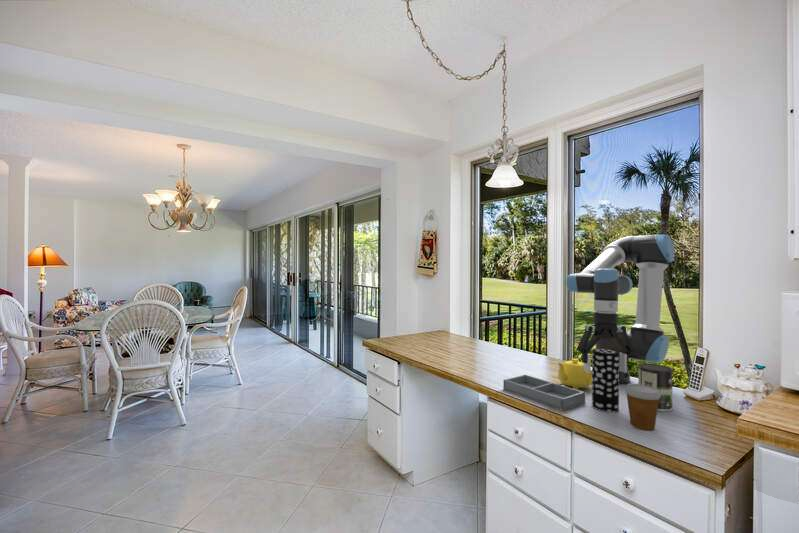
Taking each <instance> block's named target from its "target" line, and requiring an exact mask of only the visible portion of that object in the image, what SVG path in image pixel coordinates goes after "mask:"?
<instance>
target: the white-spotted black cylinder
mask: <svg viewBox="0 0 799 533" xmlns="http://www.w3.org/2000/svg"><path fill="white" fill-rule="evenodd" d="M591 350H592V353H591V354H592V357H591V358H592V360H591V361H592V363H591V366H592V368H591V371H592V385H591V389H592V390H591V406H592V407H593V408H594V407H595V408H594V409H596V408H597V409H596V410H599V409H600V410H599V411H602V410H603V412H608V411H610V412H611V413H612V412H613V411H615V412H618V411H619V408H620V407H619V406H620V400H619V399H620V397H619V396H620V383H619V352H618V351H615V350H610V349H596V348H592V349H591Z"/></svg>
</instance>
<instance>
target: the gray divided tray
mask: <svg viewBox="0 0 799 533" xmlns="http://www.w3.org/2000/svg"><path fill="white" fill-rule="evenodd" d="M503 391H506V392H509V393H511V394H515V395H517V396H519V397H523V398H526V399H527V400H532V401H535V402H537V403H540V404H543V405H546V406H549V407H551V408H554V409H557V408H558V409H557V410H559V409H561V410H560V411H562V410H564V411H567V410H570V409H572V407H573V408H575V407H578V406H581V405H583V404H586V392H585V391H582V390H576V389H573V387H572V388H571V387H570V386H562V384H558V383H555V382H552V381H548V380H545V379H541V378H537V377H534V376H532V375H528V374H522V375H518V376H514V377H511V378H510V377H508V378H505V379H503ZM569 408H570V409H569ZM566 409H567V410H566Z"/></svg>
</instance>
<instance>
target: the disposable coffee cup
mask: <svg viewBox="0 0 799 533" xmlns="http://www.w3.org/2000/svg"><path fill="white" fill-rule="evenodd" d="M624 391H625V393H626V399H627V406H628V414H629V421H630V422H629V423H630V426H632V427H633V428H635V429H637V430H642V431H654V430H655V426H656V421H657V415H658V411H657V409H658V403H659V399H660V397H661V394H660V392H659V390H658V389H656V388H654V387H651V386H647V385H641V384H639V383H629V384H627V385H626V387H625V388H624Z"/></svg>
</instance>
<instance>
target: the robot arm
mask: <svg viewBox="0 0 799 533" xmlns="http://www.w3.org/2000/svg"><path fill="white" fill-rule="evenodd" d="M675 257H676V256H675V246H674V242H673V241H672V238H671V237H670V236H669V235H667V234H657V233H656V234H649V235H648V234H647V235H645V234H644V235H629V236H624V237H621V238H619V239H617V240H614V241H613V242H611V243H609V244H608V245H606V246H605V247H604V248H603V249H602V252H601V254H600V255H599V256H598V257H597V258H595V259H594V260H593V261H592V262H590V264H589V265H587V266H586V267H585V268H583V270H582V271H580V272H578V273H570V274H568V275H567V278H566V281H565V283H566V288H567V291H569V292H571V293H577V294H579V293H583V294H593V311H594V312H593V323H594V324H593V325H585V327H584V332H583V335H582V336H581V338H580V340H579V343H578V344H577V347H576V351H578V352H579V353H581V362H582V363H584V371H585V372H587V373H590V367H591V362H590V358H591V354H590V351H591V350H593V349H594V347H595V349H610V350H615V351H618V352H619V384H628V383H630V382H631V374H630V372H629V369H628V367H627V364H628V363H629V359H631V360H635V361H641V362H646V363H652V364H659V363H662V362H663V361H664V360H665V358H666V356H667V353H668V351H669V344H670V343H669V337H668V335H665V334H664V333H665V332H664V330H663V329H662V327H660V326H661V311H662V310H661V309H662V299H663V298H662V296H663V282H664V272H665V270H666V269H667V268H669V263H672V262H673V261H675ZM623 263H635V266H636V267H637V268H638V269H639V273H638V286H637V288H638V289H637V299H636V300H637V301H636V311H635V323H634V324H633V325H631V326H630V330H627V327H626V326H625V325H621V324H619V325H618V322H619V315H618V313H617V312H618V311H619V295H621V296H623V295H626V294H628V293H630V291H631V290H632V289H633V286H634V285H633V281H632V279H631V278H630V277H629V276H628V275H626V274H625V275H624V274H623V273H621V274H619V270H618V269H616V268H615V267H616V266H619V265H622V264H623ZM593 332H594V333H593ZM627 382H628V383H627Z"/></svg>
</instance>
